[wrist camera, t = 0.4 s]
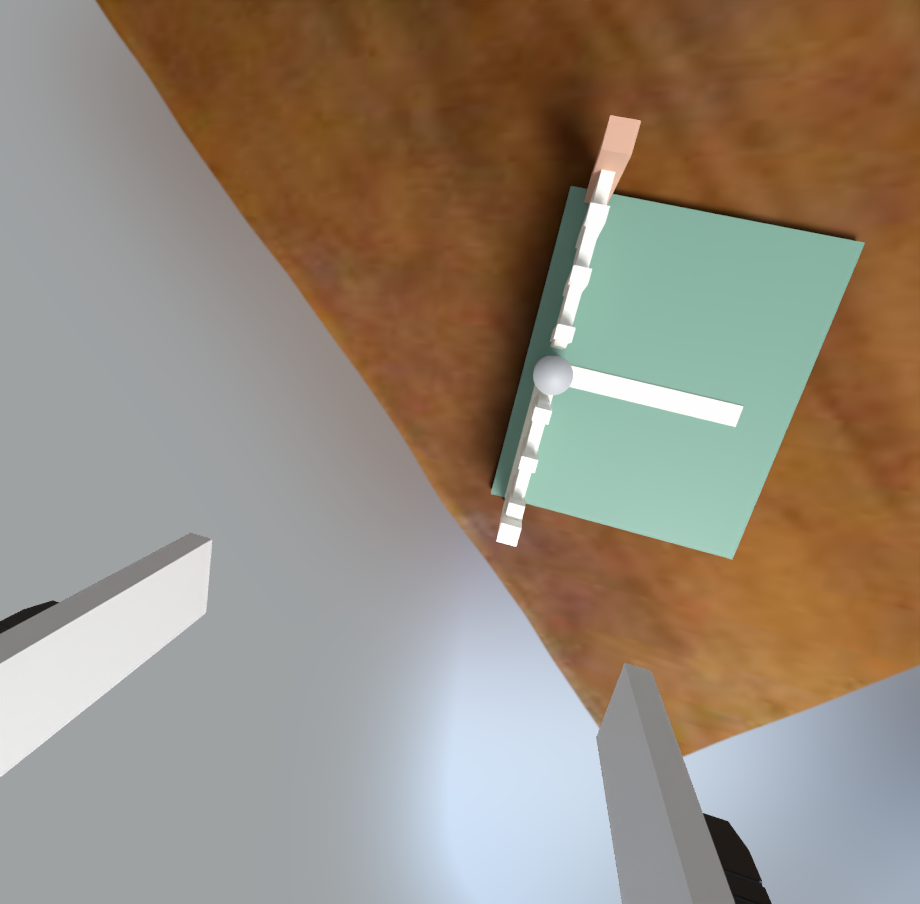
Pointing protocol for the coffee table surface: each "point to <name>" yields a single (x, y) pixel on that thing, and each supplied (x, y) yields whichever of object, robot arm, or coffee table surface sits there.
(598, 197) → the white crenellated wall
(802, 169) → the coffee table surface
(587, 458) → the board
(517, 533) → the fixed fence
